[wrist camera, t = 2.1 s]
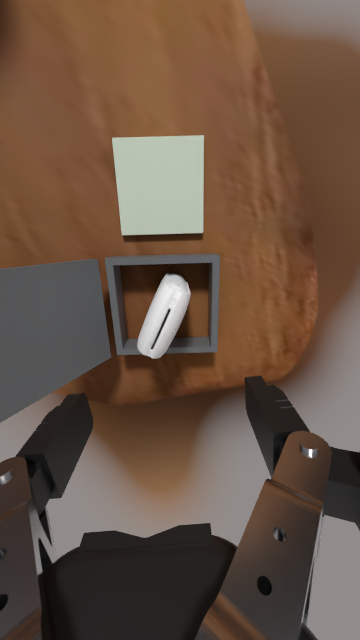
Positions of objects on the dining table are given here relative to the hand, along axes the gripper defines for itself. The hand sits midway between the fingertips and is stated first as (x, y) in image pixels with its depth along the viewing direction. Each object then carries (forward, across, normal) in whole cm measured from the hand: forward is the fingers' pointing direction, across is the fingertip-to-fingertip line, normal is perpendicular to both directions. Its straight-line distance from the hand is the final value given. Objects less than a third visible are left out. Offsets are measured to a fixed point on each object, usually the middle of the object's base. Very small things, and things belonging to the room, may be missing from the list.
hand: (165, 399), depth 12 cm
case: (+28, +2, +2) cm, 28 cm away
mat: (+28, 0, -14) cm, 32 cm away
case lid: (+16, +14, +1) cm, 22 cm away
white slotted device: (+28, +2, +2) cm, 28 cm away
